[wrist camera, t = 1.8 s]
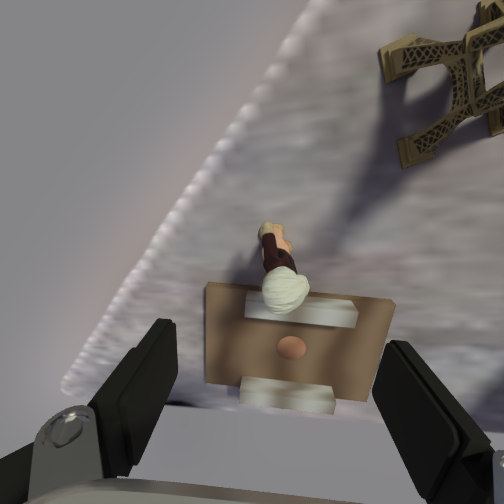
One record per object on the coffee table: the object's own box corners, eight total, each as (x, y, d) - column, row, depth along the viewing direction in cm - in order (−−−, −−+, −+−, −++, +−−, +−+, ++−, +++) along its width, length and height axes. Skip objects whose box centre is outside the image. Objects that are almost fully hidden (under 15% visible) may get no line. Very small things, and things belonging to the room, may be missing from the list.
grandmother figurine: (244, 227, 26) (221, 273, 14) (272, 207, 25) (273, 238, 13) (282, 279, 28) (290, 358, 16) (310, 262, 27) (340, 333, 15)
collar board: (390, 299, 28) (407, 317, 24) (363, 394, 33) (373, 419, 29) (208, 282, 29) (200, 296, 26) (208, 375, 34) (200, 398, 30)
